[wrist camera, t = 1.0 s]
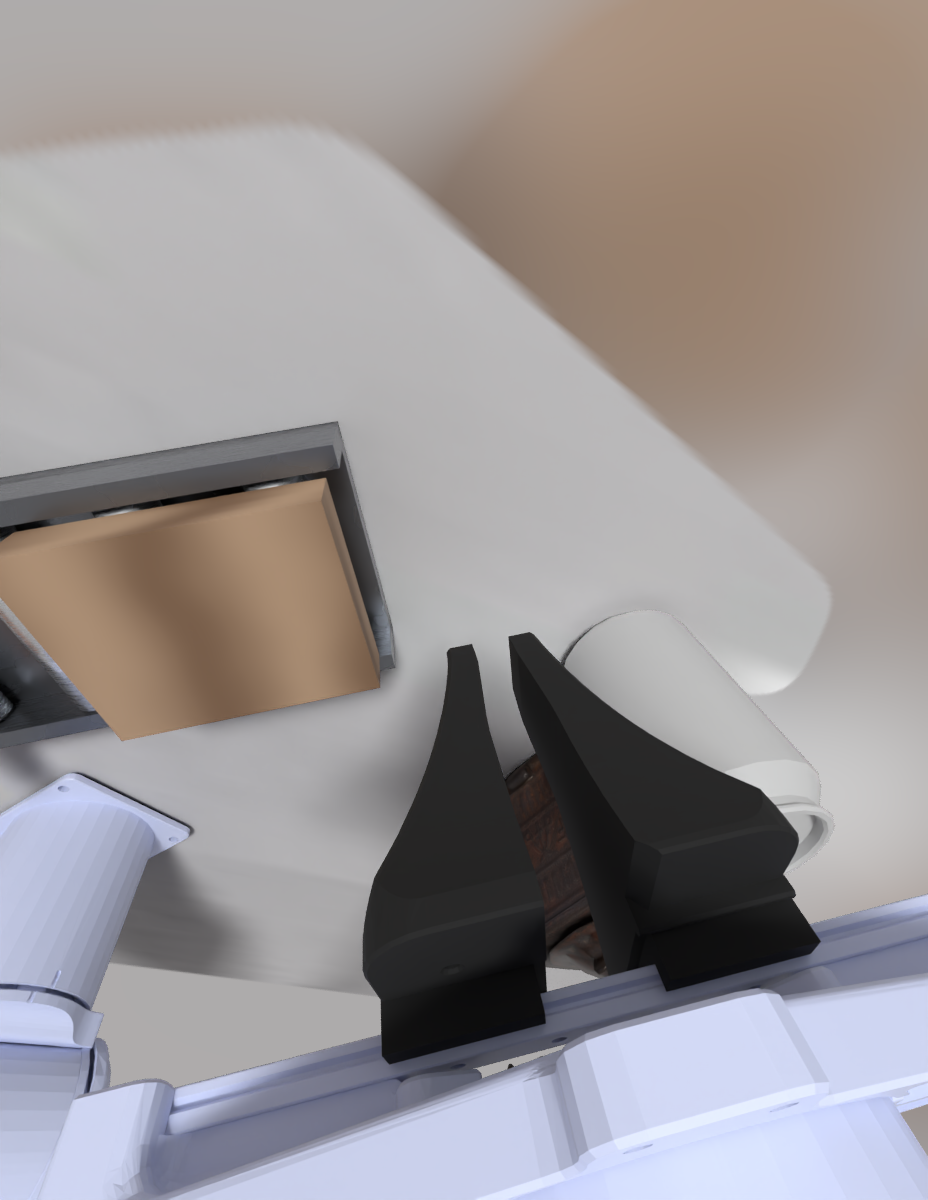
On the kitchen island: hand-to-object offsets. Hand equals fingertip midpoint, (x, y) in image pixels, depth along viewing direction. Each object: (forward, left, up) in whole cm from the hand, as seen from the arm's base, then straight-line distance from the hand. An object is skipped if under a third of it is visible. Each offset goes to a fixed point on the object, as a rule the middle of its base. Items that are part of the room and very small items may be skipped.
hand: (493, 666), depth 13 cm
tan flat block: (-8, +4, -6) cm, 11 cm away
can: (+4, -13, -10) cm, 16 cm away
